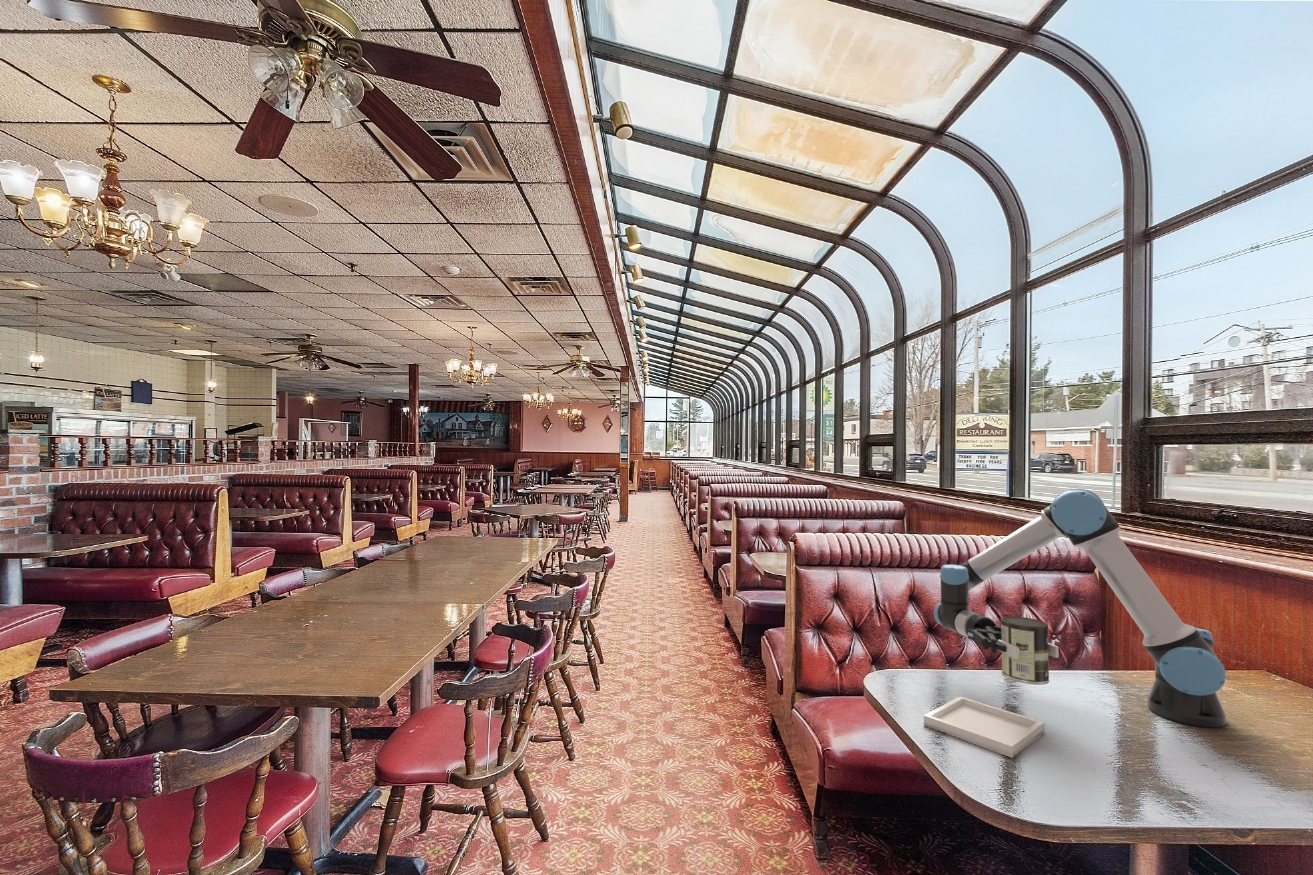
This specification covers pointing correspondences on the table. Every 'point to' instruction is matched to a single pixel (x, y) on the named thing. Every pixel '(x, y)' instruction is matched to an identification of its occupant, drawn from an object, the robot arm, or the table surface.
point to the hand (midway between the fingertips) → (1037, 652)
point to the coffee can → (1026, 650)
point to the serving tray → (985, 725)
